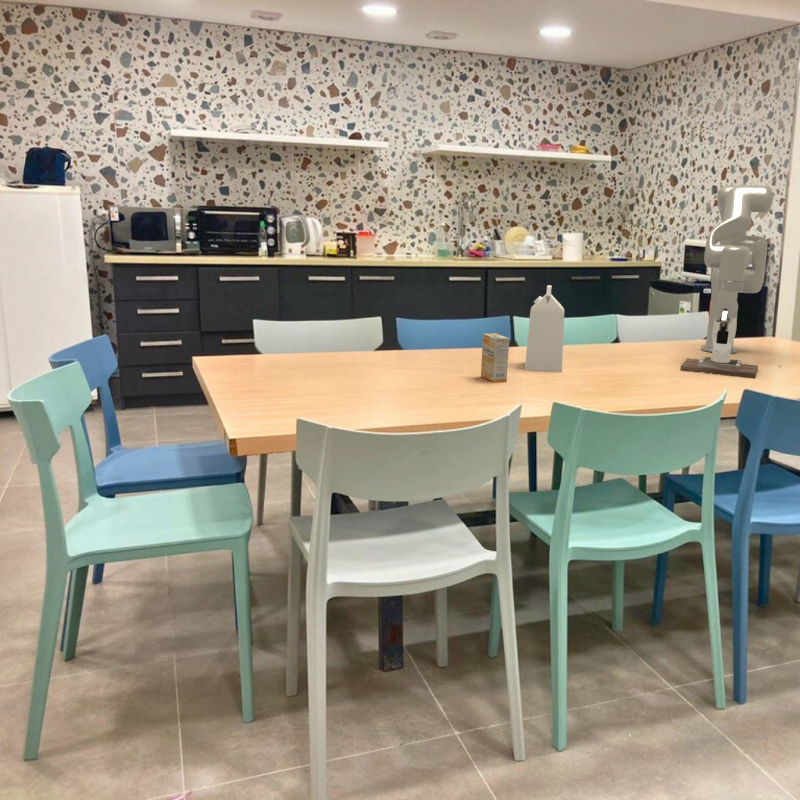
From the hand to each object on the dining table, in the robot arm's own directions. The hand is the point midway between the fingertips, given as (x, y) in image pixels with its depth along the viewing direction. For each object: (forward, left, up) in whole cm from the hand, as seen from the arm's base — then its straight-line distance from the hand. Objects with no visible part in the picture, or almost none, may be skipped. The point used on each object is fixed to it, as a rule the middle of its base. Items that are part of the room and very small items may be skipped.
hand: (722, 341), depth 245 cm
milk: (+29, -50, -10) cm, 59 cm away
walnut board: (0, 0, -9) cm, 9 cm away
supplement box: (+56, -57, -10) cm, 80 cm away
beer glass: (0, 0, -7) cm, 7 cm away
